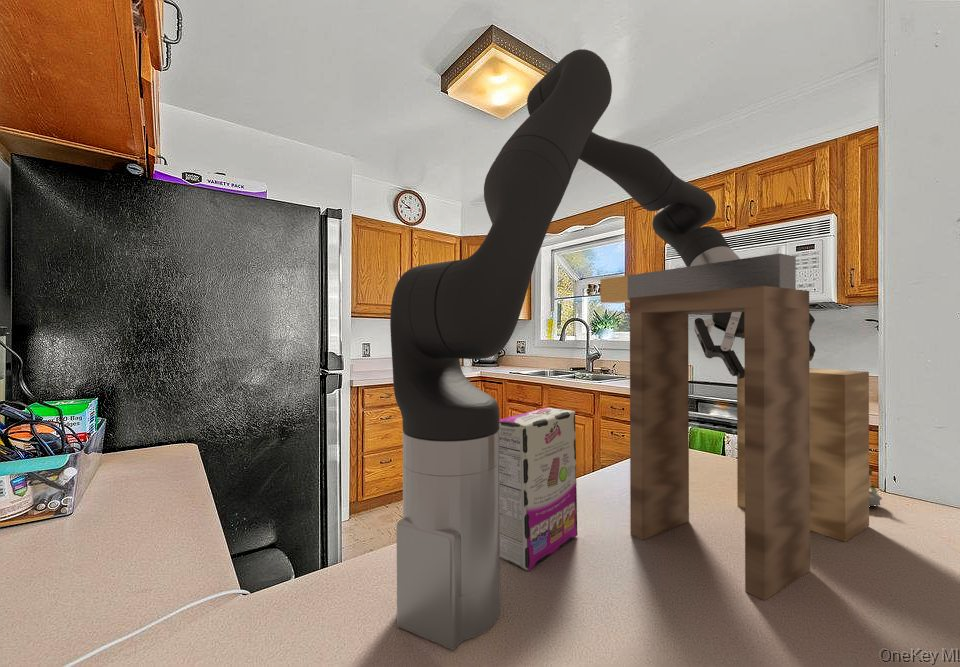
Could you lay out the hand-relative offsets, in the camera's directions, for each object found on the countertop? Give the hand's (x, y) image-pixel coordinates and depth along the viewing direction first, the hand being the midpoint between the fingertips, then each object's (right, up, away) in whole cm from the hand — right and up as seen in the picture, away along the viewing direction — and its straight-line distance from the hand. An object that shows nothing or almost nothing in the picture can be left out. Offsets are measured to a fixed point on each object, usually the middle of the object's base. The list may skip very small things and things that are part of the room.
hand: (775, 367), depth 58 cm
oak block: (+5, -21, +2) cm, 22 cm away
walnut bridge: (-13, -22, -7) cm, 26 cm away
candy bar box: (-34, -22, -6) cm, 41 cm away
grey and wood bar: (-15, +9, -4) cm, 18 cm away
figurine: (+17, -22, +6) cm, 28 cm away
